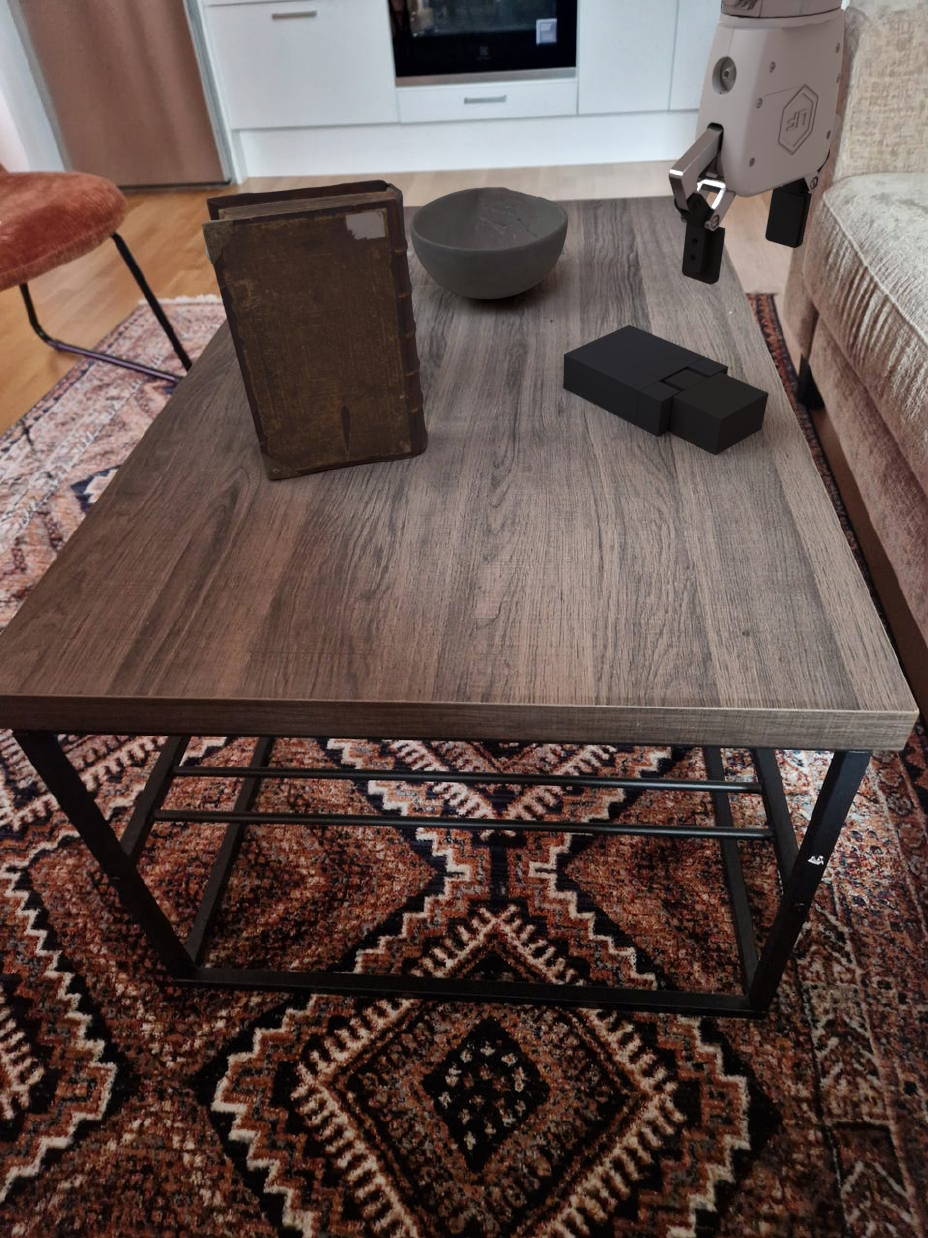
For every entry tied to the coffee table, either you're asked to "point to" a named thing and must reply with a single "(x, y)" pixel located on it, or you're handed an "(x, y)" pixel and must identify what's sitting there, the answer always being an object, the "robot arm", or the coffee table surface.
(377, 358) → the book
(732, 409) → the pad
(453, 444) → the coffee table surface
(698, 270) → the robot arm
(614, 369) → the notch pad
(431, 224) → the bowl
